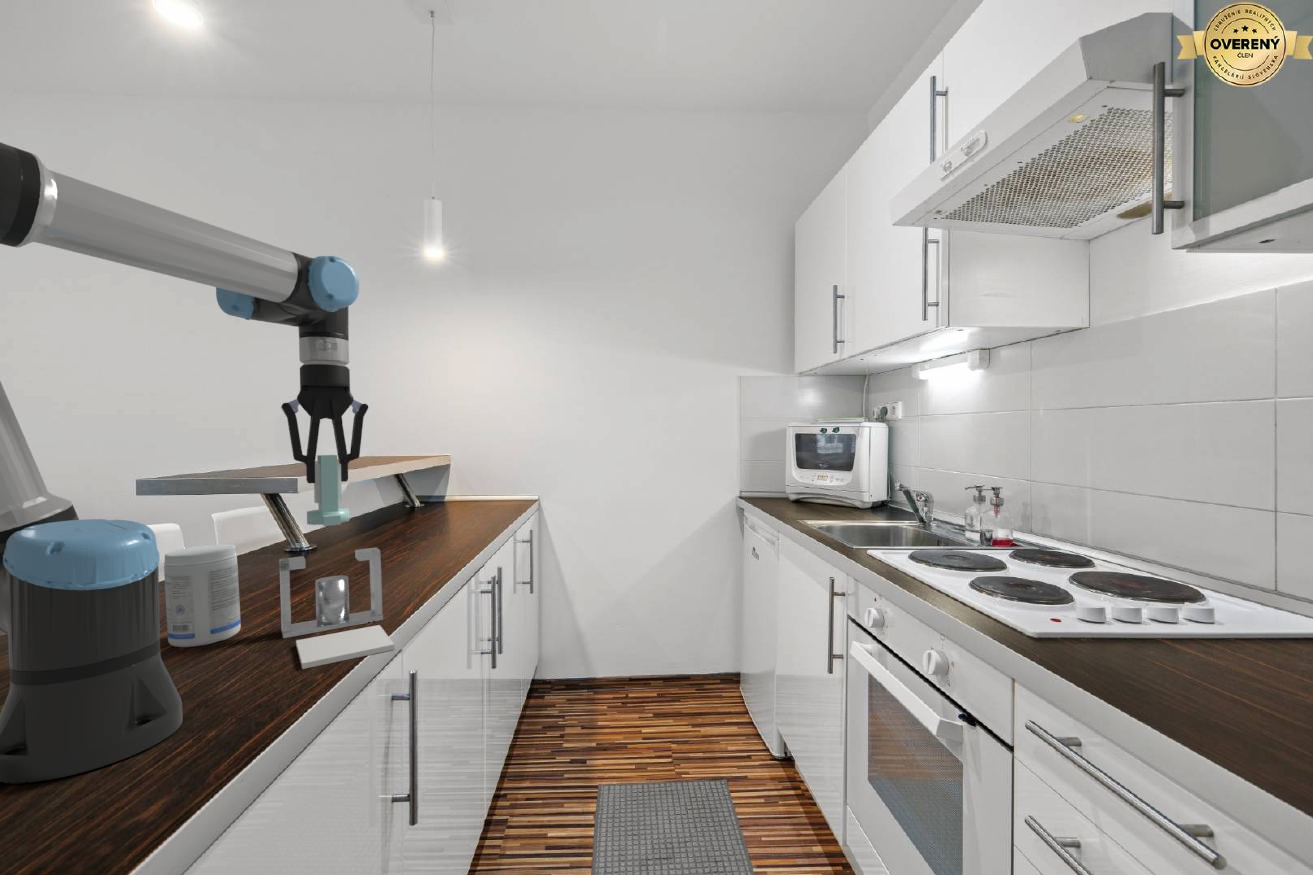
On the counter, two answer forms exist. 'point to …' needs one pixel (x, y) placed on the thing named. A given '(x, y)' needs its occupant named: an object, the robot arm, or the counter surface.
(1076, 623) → the counter surface
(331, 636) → the pad
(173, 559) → the supplement tub
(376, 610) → the grey open frame
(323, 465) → the mint inverted t-block
